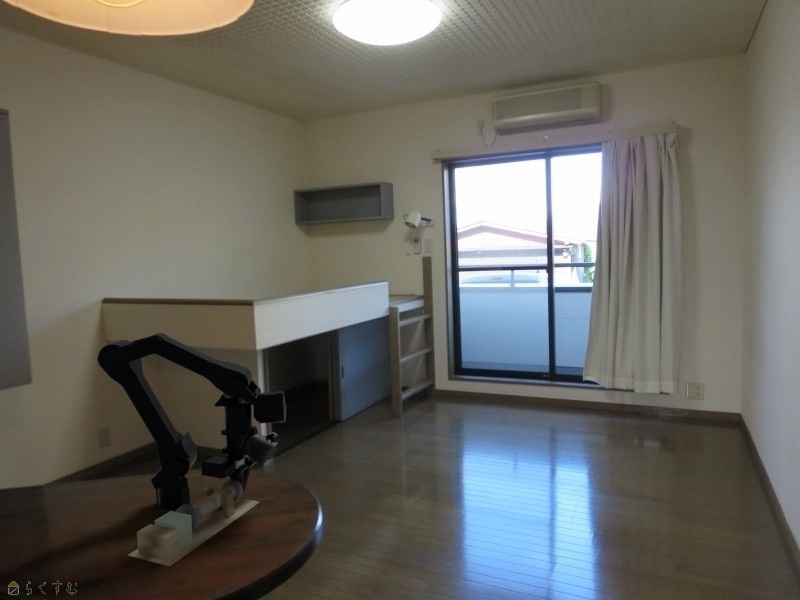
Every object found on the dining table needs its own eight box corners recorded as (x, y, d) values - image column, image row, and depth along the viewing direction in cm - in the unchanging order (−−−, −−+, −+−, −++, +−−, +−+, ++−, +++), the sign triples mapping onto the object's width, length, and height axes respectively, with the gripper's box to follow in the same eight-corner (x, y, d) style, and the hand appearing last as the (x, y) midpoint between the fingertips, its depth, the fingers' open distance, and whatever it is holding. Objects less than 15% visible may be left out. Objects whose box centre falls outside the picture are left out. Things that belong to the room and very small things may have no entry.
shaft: (175, 530, 106) (173, 504, 105) (225, 498, 119) (224, 475, 119) (196, 535, 104) (194, 509, 103) (244, 501, 117) (243, 478, 117)
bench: (127, 559, 98) (125, 528, 98) (223, 498, 122) (222, 473, 122) (170, 570, 95) (168, 538, 94) (260, 505, 119) (259, 479, 118)
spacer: (156, 545, 101) (154, 520, 101) (172, 535, 105) (171, 510, 104) (176, 551, 99) (175, 525, 99) (192, 540, 103) (191, 515, 103)
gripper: (242, 442, 107) (245, 517, 109) (293, 415, 125) (295, 480, 126) (197, 436, 111) (201, 508, 113) (253, 410, 129) (255, 474, 130)
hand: (241, 492), depth 120 cm, fingers closed
